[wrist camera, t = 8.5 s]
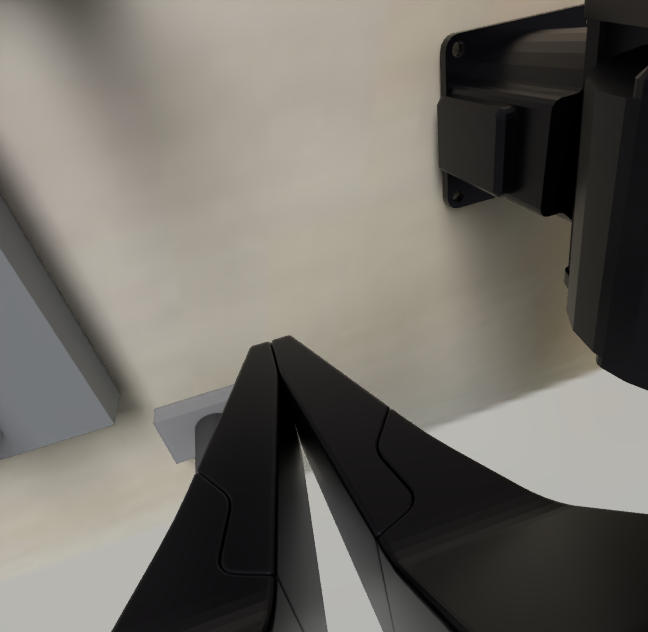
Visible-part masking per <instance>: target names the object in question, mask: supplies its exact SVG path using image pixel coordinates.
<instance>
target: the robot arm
mask: <svg viewBox="0 0 648 632" xmlns="http://www.w3.org/2000/svg"><path fill="white" fill-rule="evenodd" d="M586 19H588V24H587V23H586ZM456 42H457V43H458V45H459V51H458V53H457V55H456V56H453V55H452V47H453V45H454V44H455V43H456ZM440 66H441V98H440V100H439V102H438V104H437V114H438V152H439V167H440V168H441V169H442V170H443V198H444V201H445V203H446V204H448V205H449V206H451V207H453V208H459V207H463V206H467V205H470V204H474V203H477V202H481V201H485V200H488V199H492V198H495V197H502V196H503V197H505V198H507V199H509V200H511V201H513V202H515V203H517V204H519V205H521V206H523V207H525V208H527V209H529V210H531V211H534V212H536V213H538V214H540V215H542V216H544V217H548V216H552V215H557V216H560V217H562V218H564V219H566V220H568V221H570V222H572V227H571V240H570V253H569V266H568V267H566V269H565V277H564V283H565V285H566V286H567V288H568V297H567V313H568V316H569V319H570V322H571V325H572V329H573V331H574V332H575V333H576V334H577V335H578V336H579V337H580V338H581V339H582V341H583V342H584V343H585V344H586V345H587V346H588V347H589V348H590V349H591V350H592V351H593V352H594V353H595V354H597V356H596V362H597V364H598V365H599V366H600V367H601V368H603V369H604V370H606V371H608V372H610V373H611V374H613V375H615V376H616V377H618V378H620V379H622V380H623V381H625V382H627V383H630V384H633V385H635V386H638V387H640V388H643V389H646V390H648V0H585V4H581V5H576V6H572V7H568V8H563V9H559V10H554V11H550V12H545V13H541V14H536V15H532V16H528V17H523V18H519V19H514V20H510V21H505V22H501V23H497V24H492V25H488V26H483V27H479V28H474V29H470V30H466V31H461V32H457V33H452V34H450V35H448V36H447V37H446V38H445V39H444V41H443V43H442V45H441V50H440ZM457 191H459V196H458V197H457V198H456V199H454V200H453V196H454V194H455V193H456V192H457ZM271 344H272V345H271ZM296 429H297V430H296ZM297 432H298V434H297ZM298 436H299V438H298ZM299 439H300V442H301V444H302V447H303V449H304V452H305V454H306V456H307V459H308V461H309V463H310V466H311V468H312V470H313V472H314V475H315V477H316V479H317V482H318V484H319V486H320V488H321V491H322V493H323V495H324V497H325V500H326V502H327V504H328V506H329V509H330V511H331V514H332V516H333V518H334V520H335V523H336V525H337V527H338V529H339V532H340V533H341V536H342V538H343V541H344V543H345V545H346V548H347V550H348V552H349V555H350V557H351V559H352V561H353V564H354V566H355V568H356V571H357V573H358V575H359V577H360V579H361V582H362V584H363V586H364V589H365V591H366V593H367V596H368V598H369V600H370V602H371V605H372V607H373V609H374V612H375V614H376V616H377V618H378V621H379V623H380V625H381V628H382V630H383V632H648V514H642V513H641V514H640V513H633V512H624V511H615V510H607V509H599V508H590V507H581V506H573V505H568V504H564V503H560V502H557V501H554V500H551V499H548V498H545V497H543V496H540V495H538V494H536V493H533V492H531V491H529V490H527V489H525V488H523V487H521V486H519V485H517V484H516V483H514V482H512V481H510V480H509V479H507V478H505V477H503V476H501V475H499V474H498V473H496V472H494V471H492V470H490V469H489V468H487V467H485V466H483V465H481V464H480V463H478V462H476V461H474V460H472V459H471V458H469V457H467V456H465V455H463V454H461V453H460V452H458V451H456V450H454V449H453V448H451V447H449V446H447V445H446V444H444V443H442V442H441V441H439V440H437V439H436V438H434V437H432V436H430V435H429V434H427V433H426V432H424V431H423V430H421V429H420V428H418V427H417V426H415V425H414V424H412V423H411V422H409V421H408V420H406V419H405V418H404V417H402V416H401V415H400V414H398V413H397V412H396V411H394V410H392V409H391V410H390V408H389V407H388V406H387V405H386V404H384V403H383V402H381V401H380V400H379V399H377V398H376V397H375V396H373V395H372V394H370V393H369V392H368V391H366V390H365V389H364V388H362V387H361V386H359V385H358V384H357V383H355V382H354V381H353V380H351V379H350V378H348V377H347V376H346V375H344V374H343V373H342V372H340V371H339V370H337V369H336V368H335V367H333V366H332V365H331V364H329V363H328V362H326V361H325V360H324V359H322V358H321V357H320V356H318V355H317V354H315V353H314V352H313V351H311V350H310V349H308V348H307V347H306V346H304V345H303V344H302V343H300V342H299V341H297V340H296V339H295V338H293V337H292V336H289V335H288V336H285V337H281V338H278V339H275V340H273V341H272V343H270V342H265V343H261V344H258V345H255V346H252V347H251V348H250V349H249V352H248V354H247V356H246V359H245V361H244V363H243V365H242V368H241V370H240V372H239V375H238V377H237V379H236V382H235V384H234V386H233V388H232V391H231V393H230V395H229V398H228V400H227V402H226V405H225V407H224V409H223V411H222V414H221V416H220V418H219V421H218V423H217V425H216V427H215V430H214V432H213V434H212V437H211V439H210V441H209V444H208V446H207V448H206V450H205V453H204V455H203V457H202V460H201V462H200V464H199V467H198V469H197V473H196V474H195V475H194V477H193V480H192V482H191V484H190V487H189V489H188V491H187V493H186V496H185V498H184V500H183V502H182V504H181V506H180V508H179V510H178V513H177V515H176V517H175V519H174V521H173V523H172V525H171V526H170V528H169V530H168V532H167V534H166V536H165V538H164V539H163V541H162V543H161V545H160V547H159V549H158V551H157V552H156V554H155V556H154V558H153V559H152V561H151V563H150V565H149V566H148V568H147V570H146V572H145V573H144V575H143V577H142V579H141V580H140V582H139V584H138V586H137V587H136V589H135V591H134V593H133V594H132V596H131V598H130V600H129V601H128V603H127V605H126V607H125V608H124V610H123V612H122V614H121V615H120V617H119V619H118V621H117V623H116V624H115V626H114V628H113V630H112V631H111V632H328V631H327V625H326V617H325V610H324V604H323V597H322V590H321V583H320V576H319V570H318V562H317V556H316V548H315V542H314V535H313V528H312V521H311V514H310V507H309V501H308V493H307V487H306V480H305V473H304V466H303V459H302V452H301V447H300V442H299Z"/></svg>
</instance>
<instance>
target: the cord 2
mask: <svg viewBox="0 0 648 632" xmlns="http://www.w3.org/2000/svg"><path fill="white" fill-rule="evenodd" d="M233 386H234V384H233V385H230V386H227V387H224V388H220V389H217V390H214V391H211V392H207V393H204V394H201V395H198V396H195V397H191V398H188V399H185V400H182V401H179V402H175V403H172V404H169V405H166V406H162V407H159V408H156V409H155V410H154V422H153V424H154V426H155V427H156V429H157V431H158V433H159V434H160V436H161V438H162V440H163V441H164V443H165V445H166V446H167V448H168V450H169V452H170V453H171V455H172V457H173V459H174V460H175V462H176V464H177V463H181V462H184V461H187V460H190V459H193V458H195V467H196V473H197V469H198V467H199V464H200V462H201V460H202V457H203V455H204V453H205V450H206V448H207V446H208V444H209V441H210V439H211V437H212V434H213V432H214V430H215V427H216V425H217V423H218V421H219V418H220V416H221V414H222V411H223V409H224V407H225V405H226V402H227V400H228V398H229V395H230V393H231V391H232V388H233Z"/></svg>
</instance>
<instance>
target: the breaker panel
mask: <svg viewBox="0 0 648 632" xmlns="http://www.w3.org/2000/svg"><path fill="white" fill-rule="evenodd" d="M119 398H120V392H119V391H118V389H117V387H116V386H115V384H114V382H113V381H112V379H111V377H110V376H109V374H108V372H107V371H106V369H105V367H104V366H103V364H102V362H101V361H100V359H99V357H98V356H97V354H96V352H95V351H94V349H93V347H92V346H91V344H90V342H89V341H88V339H87V338H86V336H85V334H84V333H83V331H82V329H81V328H80V326H79V324H78V323H77V321H76V319H75V318H74V316H73V314H72V313H71V311H70V309H69V308H68V306H67V304H66V303H65V301H64V299H63V298H62V296H61V294H60V293H59V291H58V289H57V288H56V286H55V284H54V283H53V281H52V280H51V278H50V276H49V275H48V273H47V271H46V270H45V268H44V266H43V265H42V263H41V261H40V260H39V258H38V256H37V255H36V253H35V251H34V250H33V248H32V246H31V245H30V243H29V241H28V240H27V238H26V236H25V235H24V233H23V231H22V230H21V228H20V227H19V225H18V223H17V222H16V220H15V218H14V217H13V215H12V213H11V212H10V210H9V208H8V207H7V205H6V203H5V202H4V200H3V198H2V197H1V195H0V460H2V459H5V458H8V457H12V456H15V455H18V454H21V453H25V452H28V451H31V450H34V449H37V448H41V447H44V446H47V445H50V444H54V443H57V442H60V441H63V440H66V439H70V438H73V437H76V436H79V435H82V434H86V433H89V432H92V431H95V430H99V429H102V428H105V427H108V426H111V425H114V424H115V419H116V414H117V409H118V404H119Z"/></svg>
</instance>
